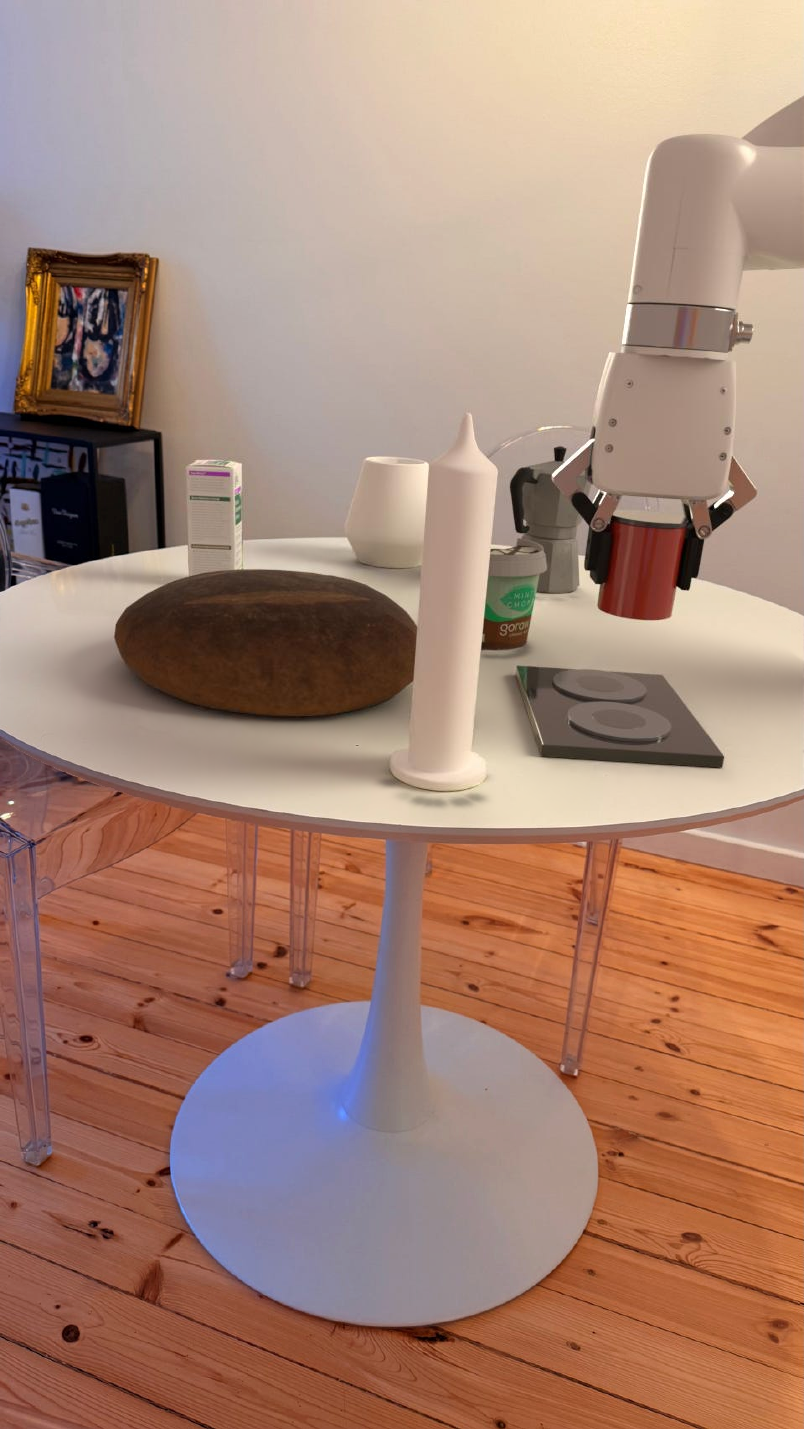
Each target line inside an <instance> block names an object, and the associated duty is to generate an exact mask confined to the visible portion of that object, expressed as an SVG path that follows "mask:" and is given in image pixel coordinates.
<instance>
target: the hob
mask: <svg viewBox="0 0 804 1429" xmlns="http://www.w3.org/2000/svg"><path fill="white" fill-rule="evenodd" d="M515 668H516V669H515V677H516V680H517V684H518V687H519V690H520V693H521V696H522V699H523V702H524V705H525V709H526V712H527V715H528V719H529V721H530V725H531V728H532V732H533V734H534V737H535V741H536V744H537V748H538V750H539V754H540V756H541V757H543V758H544V757H548V758H559V759H560V758H561V759H562V758H563V759H575V760H576V759H579V760H593V761H607V762H608V761H610V762H622V763H623V762H624V763H640V764H641V763H642V764H654V765H655V764H657V765H670V766H671V765H673V766H687V767H688V766H689V767H703V768H720V769H721V768H723V766H724V761H725V755H724V754H723V752H722V750H720V748H719V747H718V746H717V745H716V743H715V742H714V741H713V739H712V737H710V736H709V733H707V731H706V730H705V728H704V727H703V726H702V725H701V724H700V722H699V720H698V719H697V718H696V717H695V715H694V714H693V713H692V712H691V710H690V709H689V708H688V707H687V705H686V704H685V702H684V701H683V699H682V698H681V697H680V696H679V695H678V693H677V692H676V690H675V689H674V687H673V686H672V685H671V684H670V683H669V681H668V680H667V678H666V677H665V676H664V675H663V674H654V673H642V672H640V673H639V672H623V671H609V670H601V669H600V670H599V669H590V668H589V669H588V668H587V669H586V668H581V669H580V668H579V669H577V668H563V667H562V668H561V667H548V666H547V667H546V666H533V665H531V666H530V665H516V667H515Z"/></svg>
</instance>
